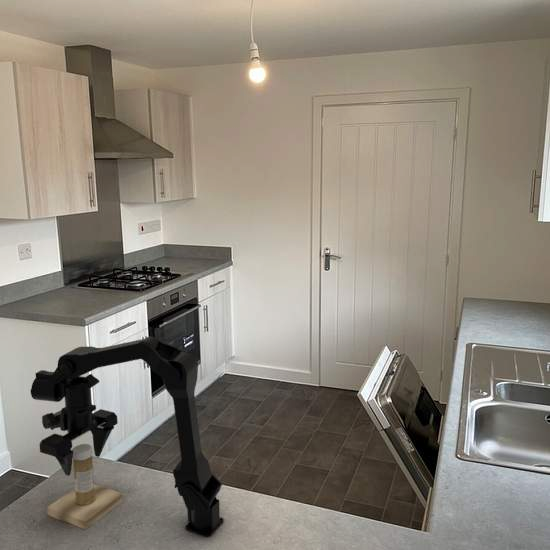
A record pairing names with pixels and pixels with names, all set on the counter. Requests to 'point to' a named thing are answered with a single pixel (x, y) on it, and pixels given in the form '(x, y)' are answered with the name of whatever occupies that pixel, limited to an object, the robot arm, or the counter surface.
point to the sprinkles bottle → (83, 474)
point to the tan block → (84, 507)
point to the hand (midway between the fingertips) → (83, 465)
